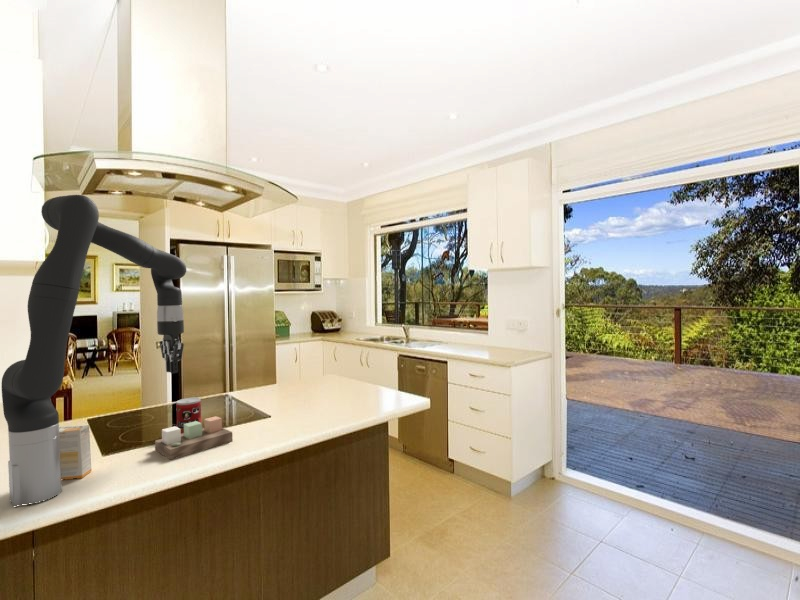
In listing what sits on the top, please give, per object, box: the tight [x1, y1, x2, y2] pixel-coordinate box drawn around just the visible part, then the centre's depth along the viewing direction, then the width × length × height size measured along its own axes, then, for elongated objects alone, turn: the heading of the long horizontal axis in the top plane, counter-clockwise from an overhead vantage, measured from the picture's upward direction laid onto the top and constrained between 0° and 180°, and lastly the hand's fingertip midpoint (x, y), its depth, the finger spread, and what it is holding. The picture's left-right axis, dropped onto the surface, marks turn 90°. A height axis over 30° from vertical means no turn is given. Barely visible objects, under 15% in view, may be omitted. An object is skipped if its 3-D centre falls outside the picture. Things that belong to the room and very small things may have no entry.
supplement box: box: [59, 424, 93, 480], centre depth 112 cm, size 8×5×13 cm, turn 99°
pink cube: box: [203, 415, 223, 433], centre depth 139 cm, size 4×4×4 cm
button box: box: [154, 427, 233, 460], centre depth 133 cm, size 19×12×4 cm, turn 139°
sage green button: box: [184, 421, 203, 439], centre depth 134 cm, size 4×4×4 cm
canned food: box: [175, 397, 202, 434], centre depth 148 cm, size 8×8×11 cm
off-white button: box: [161, 425, 181, 445], centre depth 129 cm, size 4×4×4 cm
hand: (172, 372), depth 136 cm, fingers open, 3 cm apart
